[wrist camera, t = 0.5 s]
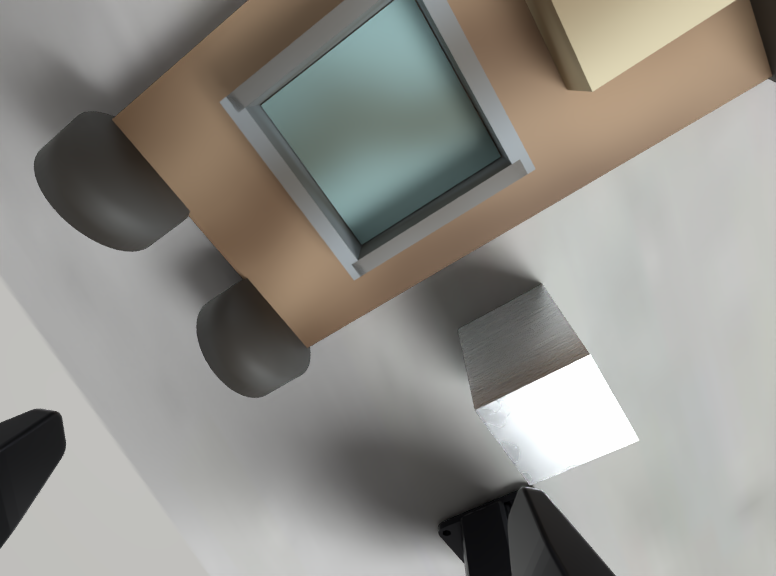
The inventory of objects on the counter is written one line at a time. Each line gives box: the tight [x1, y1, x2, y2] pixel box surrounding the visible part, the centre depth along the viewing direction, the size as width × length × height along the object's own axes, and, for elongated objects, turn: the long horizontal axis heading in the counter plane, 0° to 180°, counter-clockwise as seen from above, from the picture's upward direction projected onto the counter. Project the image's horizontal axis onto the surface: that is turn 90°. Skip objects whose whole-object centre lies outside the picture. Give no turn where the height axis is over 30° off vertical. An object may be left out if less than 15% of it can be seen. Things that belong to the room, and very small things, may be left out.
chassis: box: [34, 0, 776, 398], centre depth 16 cm, size 13×25×5 cm, turn 124°
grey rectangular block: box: [458, 284, 639, 486], centre depth 20 cm, size 4×4×6 cm
